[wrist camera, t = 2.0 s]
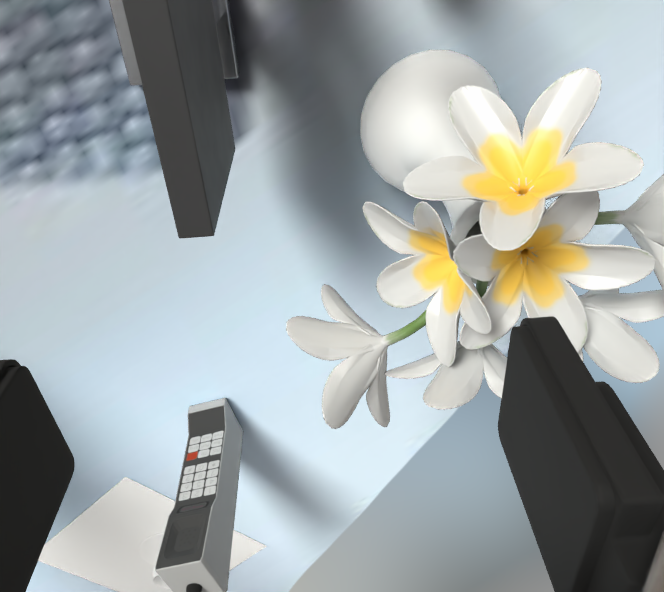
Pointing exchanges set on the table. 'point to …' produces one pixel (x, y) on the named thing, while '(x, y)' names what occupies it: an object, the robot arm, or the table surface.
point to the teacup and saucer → (157, 580)
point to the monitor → (184, 97)
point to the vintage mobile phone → (204, 503)
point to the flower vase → (490, 236)
